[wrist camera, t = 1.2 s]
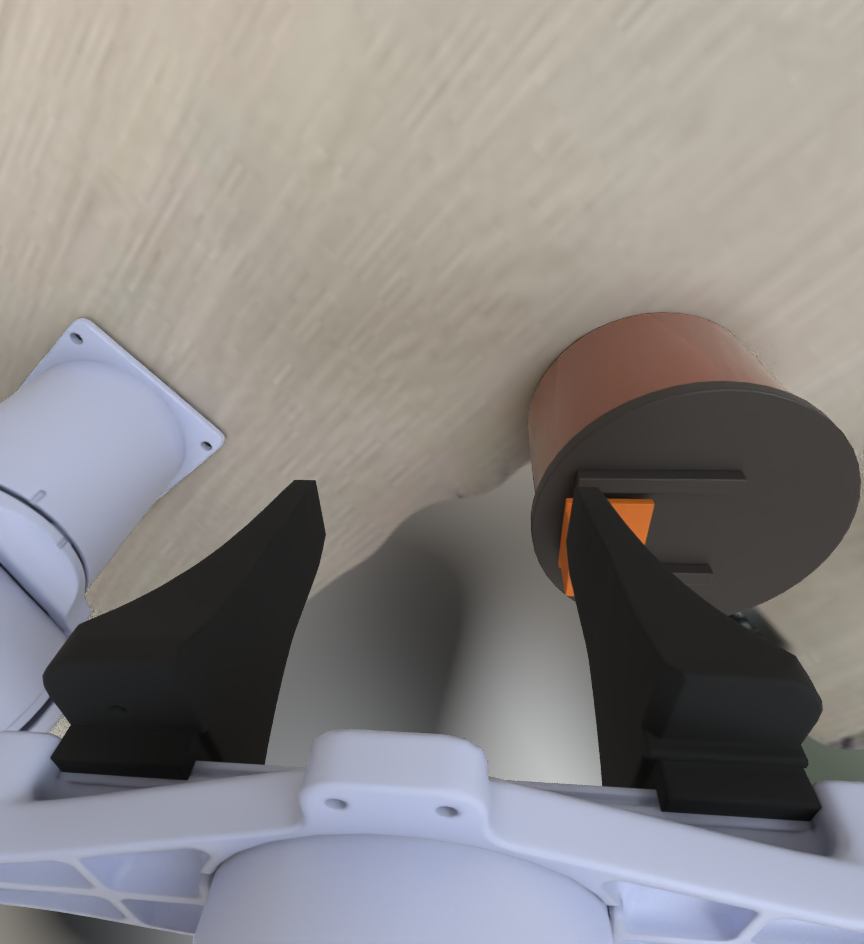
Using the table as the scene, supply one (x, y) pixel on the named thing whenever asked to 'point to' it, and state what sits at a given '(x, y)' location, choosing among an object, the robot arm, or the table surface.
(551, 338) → the table surface
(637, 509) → the slider
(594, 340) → the lidded cup
